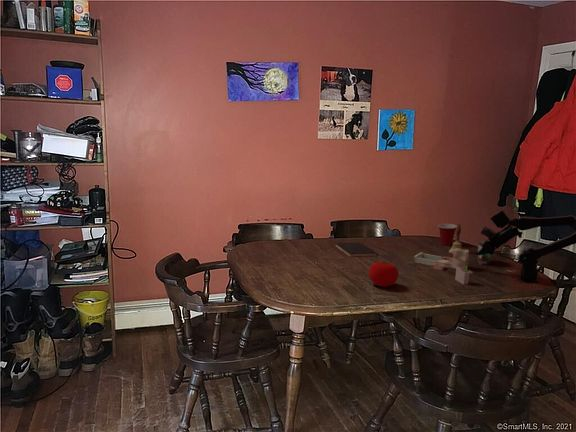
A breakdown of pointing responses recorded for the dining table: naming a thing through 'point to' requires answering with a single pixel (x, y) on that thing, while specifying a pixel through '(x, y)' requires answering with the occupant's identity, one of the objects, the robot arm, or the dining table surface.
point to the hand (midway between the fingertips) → (477, 254)
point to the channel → (426, 258)
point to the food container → (483, 258)
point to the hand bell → (457, 243)
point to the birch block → (456, 259)
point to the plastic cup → (447, 233)
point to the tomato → (383, 273)
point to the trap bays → (443, 265)
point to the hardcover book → (356, 249)
